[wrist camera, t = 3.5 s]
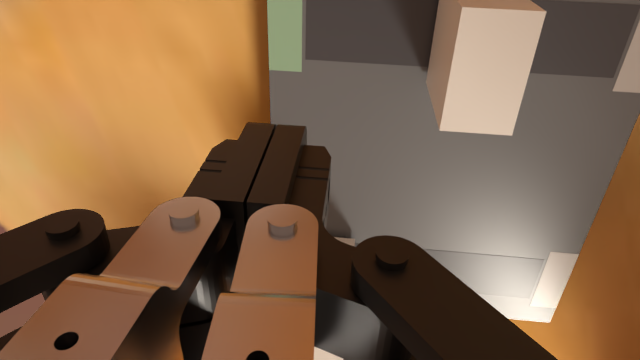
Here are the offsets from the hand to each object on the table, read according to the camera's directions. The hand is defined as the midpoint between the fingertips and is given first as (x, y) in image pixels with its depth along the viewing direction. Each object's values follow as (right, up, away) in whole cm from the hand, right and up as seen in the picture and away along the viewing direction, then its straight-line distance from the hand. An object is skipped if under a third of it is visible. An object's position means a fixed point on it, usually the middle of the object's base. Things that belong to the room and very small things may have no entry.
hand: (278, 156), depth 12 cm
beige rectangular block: (+8, +7, +11) cm, 15 cm away
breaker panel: (+8, +1, +17) cm, 19 cm away
